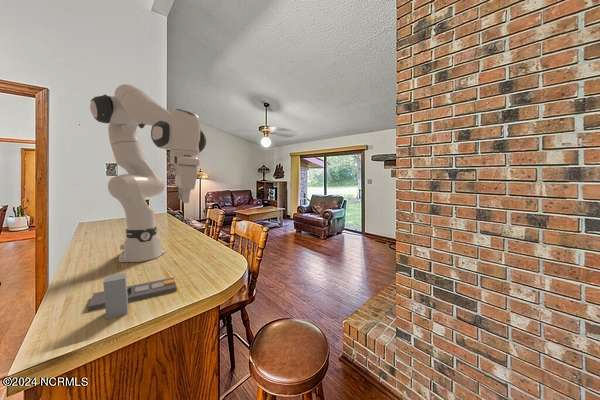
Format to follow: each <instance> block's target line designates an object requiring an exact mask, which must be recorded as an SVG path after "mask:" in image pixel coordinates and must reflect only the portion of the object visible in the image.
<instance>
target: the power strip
mask: <svg viewBox="0 0 600 400" xmlns="http://www.w3.org/2000/svg"><path fill="white" fill-rule="evenodd" d="M177 291H178V289H177V283H176V280H175V277H168V278H164V279H158V280H154V281H149V282H143V283H139V284H132V285H129V286H128V285H127V292H128V303H130V302H132V301H137V300H143V299H146V298H151V297H156V296H160V295H164V294H169V293H173V292H177ZM102 308H105V296H104V290H103V291H99V292H94V293H93V294H92V296H91V299H90V300H89V303H88V305H87V310H88V312H90V311H94V310H98V309H102Z"/></svg>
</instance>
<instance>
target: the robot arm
mask: <svg viewBox="0 0 600 400" xmlns="http://www.w3.org/2000/svg"><path fill="white" fill-rule="evenodd" d="M89 109H90V112H91V114H92V117H93V118H94V120H96V121H97V122H99V123H102V124H107V125H108V127H107V128H108V129H107V130H108V138H109V139H108V140H109V143H110V146H111V150H112V153H113V156H114V160H115V162H116V164H117V165H118V166H119V167H121V168H122V169H124V171H126V172H127V173H125V174H120V175H116V176H112V177H111V178H110V179H109V181H108V183H107V190H108V193H109V194H110V196H111V197H113V198H114V199H116V200H117V201H118V202H119V203H120V204H121V206H122V208H123V211H124V214H125V222H126V229H125V240H124V242H123V244H120V245H119V249H120V252H119V255H118V262H119V263H138V262H139V263H140V262H146V261H147V262H148V261H151V260H153V259H156V258H159V257H160V256H161V255H163V254H165V253H166V250H164V249H163V248H162V238H161V237H160V236H159V235H158V232H157V231H158V229H157V226H156V217H155V216H156V215H155V210H154V209H153V208H152V206H151V207H150V206H149V205H148V203H147V202H146V198H151V197H155V196H158V195H160V194H162V193H164V191H165V181H164V180H163V178H161V177H160V176H158V175H157V173H155V171H154V170H153V169H152V167H151V166H150V165H149V163H148V161H147V160H146V156H145V154H144V152H143V148H142V145H141V141H140V139H139V138H140V137H139V136H138V133H137V128H140V129H144V128H145V126H150V127H151V130H150V138H151V141H152V142H153V144H154V145H155V146H156V147H157V148H159V149H163V150H168V151H170V152H169V164H170V165H173V170H175V176H174V177H175V179H174V181H175V182H174V184H175V186H176V187H177V188H178V189H177V190H178V199H179V200H181V202H182V203H184V204H189V202H190V196H191V190H192V191H193V190H195V187H196V185H197V183H196V182H197V176H198V167H199V166H200V163H201V161H200V160H201V159H200V153H202V151H203V150H204V149H205V148H206V145H207V138H206V135H205V133H204V131H203V130H202V129H201V124H200V117H199V115H197V114H196V113H195V112H191V111H188V110H184V109H180V108H175V109H173V111H172V113H171V112H170V111H169V110H168V109H166V108H165V107H163V106H162V105H161V104H159V103H158V102H156V101H155V100H154V99H153V98H152V97H150V96H149V94H147V93H146V92H144V91H143V90H142V89H140V88H138V87H136V86H134V85H132V84H129V83H128V84H127V83H124V84H120V85H119V86H117V87H116V88H115V91H114V95H113V96H109V95H107V94H103V95H96V96H94V97H93V98H92V99H91V100H90V106H89Z"/></svg>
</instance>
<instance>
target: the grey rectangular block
mask: <svg viewBox="0 0 600 400" xmlns="http://www.w3.org/2000/svg"><path fill="white" fill-rule="evenodd" d="M127 287H128V281H127V272H121V273H117V274H110V275H105V278H104V279H103V291H104V296H105V307H104V308H105V317H106V318H105V319H106V320H108V319H112V318H116V317H120V316H124V315H128V314H129V302H128V292H127Z"/></svg>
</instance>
